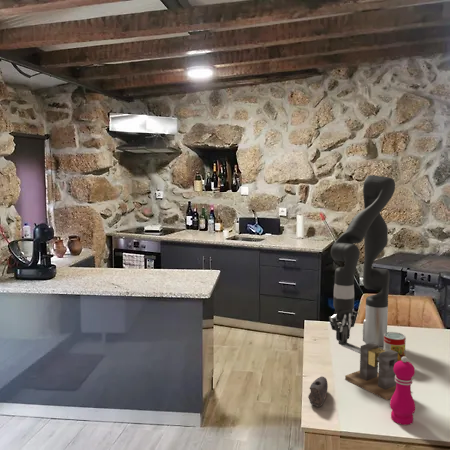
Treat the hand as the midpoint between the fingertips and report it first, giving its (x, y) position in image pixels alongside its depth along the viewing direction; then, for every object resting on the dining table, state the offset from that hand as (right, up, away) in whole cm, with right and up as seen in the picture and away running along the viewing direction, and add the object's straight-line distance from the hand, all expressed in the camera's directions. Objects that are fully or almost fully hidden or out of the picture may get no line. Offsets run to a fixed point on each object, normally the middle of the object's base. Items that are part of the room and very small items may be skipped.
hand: (342, 339), depth 173 cm
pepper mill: (+9, -16, -34) cm, 39 cm away
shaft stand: (+9, -13, -12) cm, 20 cm away
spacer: (+8, -5, -12) cm, 16 cm away
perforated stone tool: (-13, -15, -22) cm, 29 cm away
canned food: (+21, -11, +4) cm, 24 cm away
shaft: (+5, -3, -6) cm, 9 cm away
